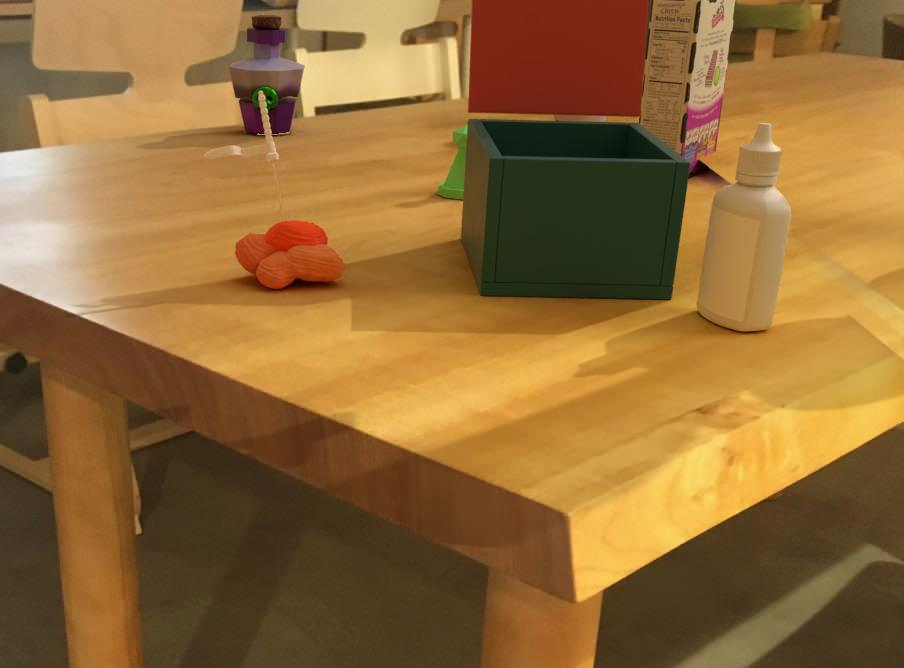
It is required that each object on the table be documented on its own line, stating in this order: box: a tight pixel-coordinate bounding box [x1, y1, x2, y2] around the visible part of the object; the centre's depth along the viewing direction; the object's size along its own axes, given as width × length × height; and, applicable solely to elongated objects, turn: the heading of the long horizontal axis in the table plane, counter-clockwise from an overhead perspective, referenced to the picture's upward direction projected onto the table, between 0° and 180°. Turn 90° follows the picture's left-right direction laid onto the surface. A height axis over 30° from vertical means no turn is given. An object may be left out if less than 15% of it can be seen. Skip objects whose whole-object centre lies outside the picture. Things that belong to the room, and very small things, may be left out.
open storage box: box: [460, 118, 691, 300], centre depth 88 cm, size 16×13×9 cm
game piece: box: [437, 124, 468, 201], centre depth 110 cm, size 4×4×6 cm
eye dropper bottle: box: [696, 122, 792, 333], centre depth 76 cm, size 4×6×12 cm
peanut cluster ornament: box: [203, 91, 346, 290], centre depth 82 cm, size 6×10×12 cm, turn 75°
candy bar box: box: [638, 0, 737, 178], centre depth 119 cm, size 11×5×16 cm, turn 148°
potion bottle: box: [228, 14, 305, 136], centre depth 135 cm, size 9×9×12 cm
